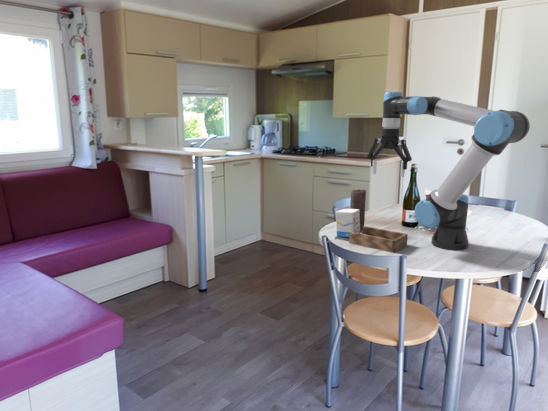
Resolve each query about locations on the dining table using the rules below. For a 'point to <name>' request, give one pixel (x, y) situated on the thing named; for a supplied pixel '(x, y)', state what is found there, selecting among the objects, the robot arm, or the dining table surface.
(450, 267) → the dining table surface
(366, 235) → the wooden tray
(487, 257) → the dining table surface
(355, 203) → the candle
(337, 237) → the slate pad
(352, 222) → the ink box
